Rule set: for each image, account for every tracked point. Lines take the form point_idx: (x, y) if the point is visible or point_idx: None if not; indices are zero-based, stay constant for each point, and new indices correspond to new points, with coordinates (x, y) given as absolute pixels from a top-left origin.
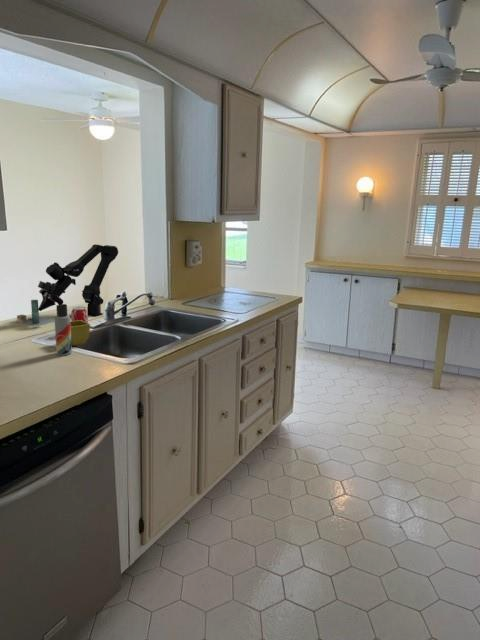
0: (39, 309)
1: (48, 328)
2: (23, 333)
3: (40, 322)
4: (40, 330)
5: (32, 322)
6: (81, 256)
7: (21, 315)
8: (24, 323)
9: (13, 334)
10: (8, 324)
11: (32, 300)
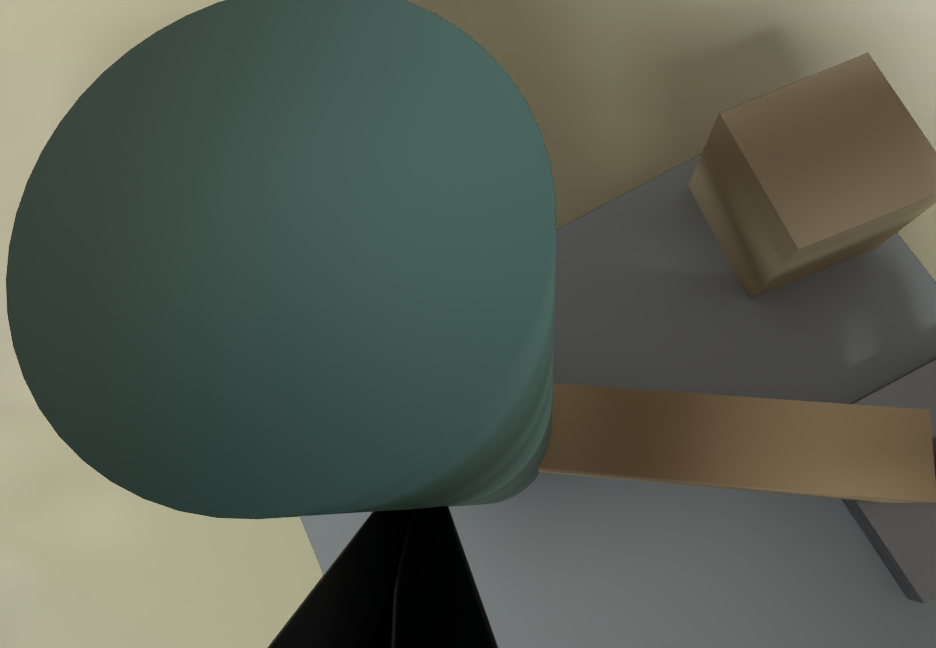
0: (371, 537)
1: (64, 575)
2: (21, 139)
3: (522, 538)
4: (24, 405)
5: (597, 383)
6: None
7: (834, 143)
8: (580, 229)
9: (56, 17)
10: (711, 4)
11: (252, 75)
